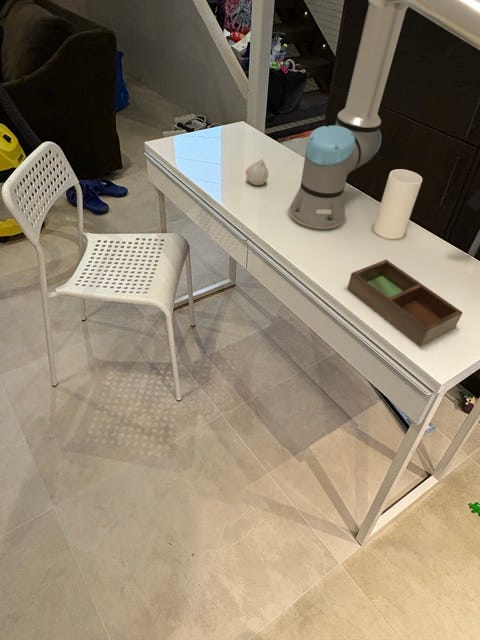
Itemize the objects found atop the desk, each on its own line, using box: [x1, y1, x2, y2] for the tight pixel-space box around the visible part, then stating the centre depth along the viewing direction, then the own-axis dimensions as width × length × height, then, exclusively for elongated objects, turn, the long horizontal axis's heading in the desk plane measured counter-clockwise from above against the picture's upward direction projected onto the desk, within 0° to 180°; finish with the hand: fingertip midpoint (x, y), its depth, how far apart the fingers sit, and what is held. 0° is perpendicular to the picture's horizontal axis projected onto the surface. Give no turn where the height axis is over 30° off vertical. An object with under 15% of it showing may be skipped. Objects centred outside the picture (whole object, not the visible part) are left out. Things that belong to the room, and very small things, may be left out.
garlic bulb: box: [244, 158, 269, 186], centre depth 147 cm, size 6×7×8 cm
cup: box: [373, 168, 423, 240], centre depth 129 cm, size 8×8×16 cm
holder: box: [347, 259, 464, 348], centre depth 108 cm, size 11×22×5 cm, turn 34°
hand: (475, 201), depth 115 cm, fingers open, 13 cm apart
